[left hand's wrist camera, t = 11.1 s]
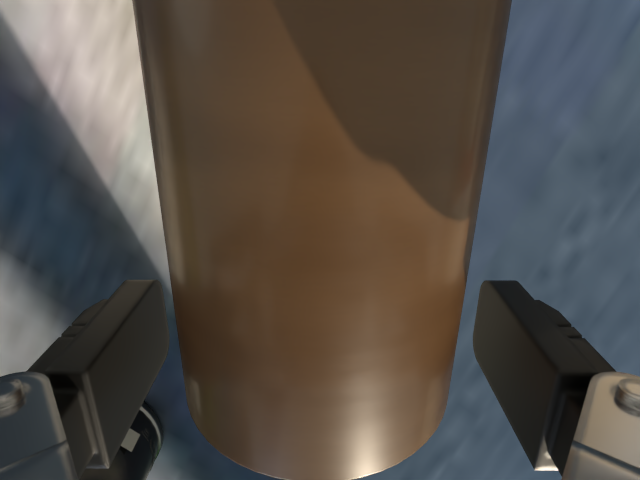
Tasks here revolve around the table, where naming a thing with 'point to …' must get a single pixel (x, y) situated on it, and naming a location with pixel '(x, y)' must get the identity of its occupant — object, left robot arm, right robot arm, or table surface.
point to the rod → (319, 215)
